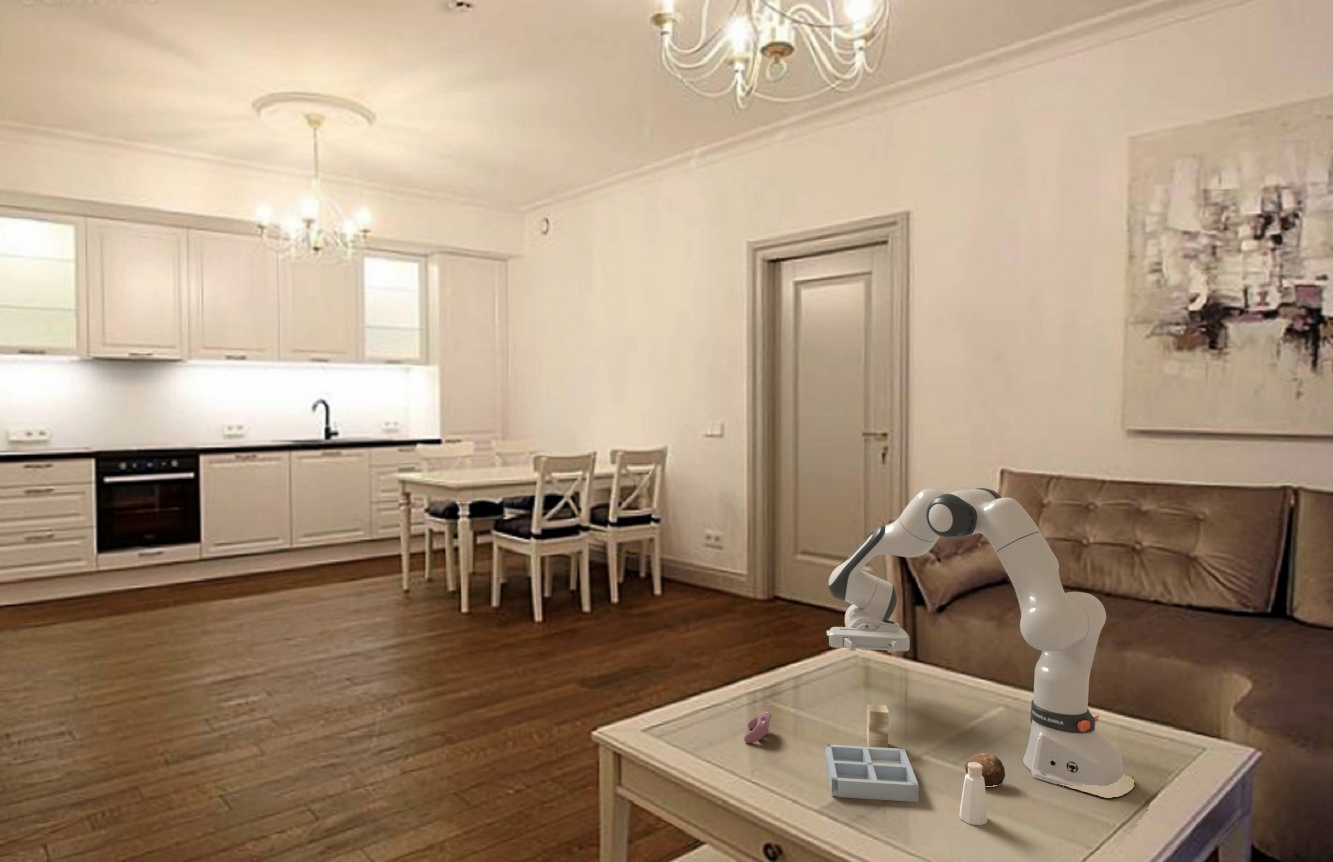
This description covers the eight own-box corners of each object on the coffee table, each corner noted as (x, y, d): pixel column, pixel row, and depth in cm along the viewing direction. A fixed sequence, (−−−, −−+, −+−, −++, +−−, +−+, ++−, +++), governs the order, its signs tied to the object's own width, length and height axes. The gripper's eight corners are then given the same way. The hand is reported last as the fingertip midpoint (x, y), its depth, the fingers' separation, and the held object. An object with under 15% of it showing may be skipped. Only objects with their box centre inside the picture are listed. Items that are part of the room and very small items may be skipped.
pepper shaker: (978, 811, 173) (980, 757, 172) (993, 824, 167) (995, 770, 167) (953, 812, 172) (955, 759, 171) (967, 826, 167) (969, 771, 166)
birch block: (884, 742, 205) (886, 705, 205) (887, 750, 201) (888, 712, 200) (866, 741, 206) (867, 704, 205) (868, 748, 201) (869, 711, 201)
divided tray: (903, 764, 193) (904, 748, 193) (918, 802, 176) (919, 785, 176) (824, 759, 195) (825, 744, 195) (831, 796, 178) (831, 780, 178)
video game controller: (759, 752, 202) (773, 727, 201) (742, 741, 203) (756, 717, 202) (762, 735, 212) (776, 711, 211) (746, 725, 212) (759, 701, 212)
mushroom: (975, 754, 192) (980, 739, 188) (1008, 777, 187) (1014, 763, 183) (956, 779, 188) (960, 765, 184) (989, 803, 183) (995, 789, 179)
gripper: (825, 618, 229) (830, 634, 215) (904, 622, 227) (914, 638, 213) (825, 642, 229) (829, 658, 215) (903, 646, 227) (913, 663, 213)
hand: (872, 648), depth 214 cm, fingers open, 8 cm apart
